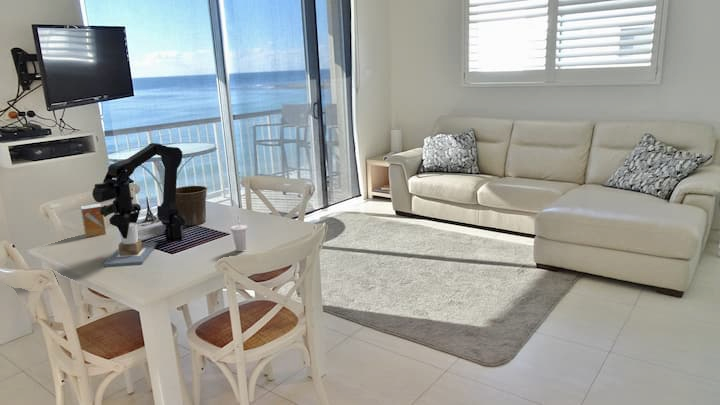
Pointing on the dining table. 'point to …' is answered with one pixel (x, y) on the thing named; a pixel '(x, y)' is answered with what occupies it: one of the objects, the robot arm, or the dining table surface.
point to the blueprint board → (131, 256)
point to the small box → (92, 220)
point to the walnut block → (130, 248)
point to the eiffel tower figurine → (150, 215)
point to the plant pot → (192, 204)
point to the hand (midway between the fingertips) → (128, 234)
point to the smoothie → (239, 236)
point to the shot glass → (131, 234)
